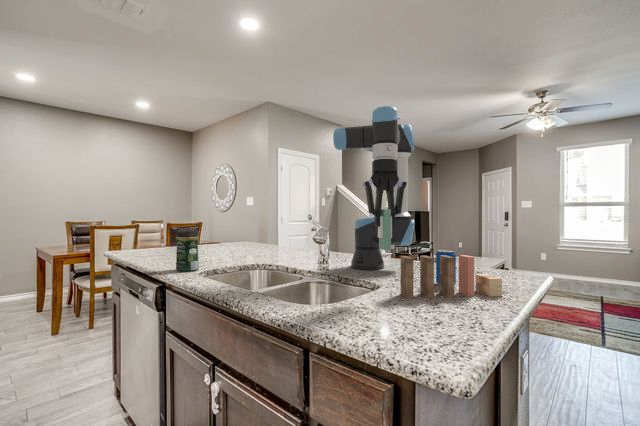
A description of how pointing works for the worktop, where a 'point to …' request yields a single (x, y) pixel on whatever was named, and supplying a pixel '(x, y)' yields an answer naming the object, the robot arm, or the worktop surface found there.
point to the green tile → (386, 230)
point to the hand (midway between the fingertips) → (384, 237)
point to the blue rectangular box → (440, 252)
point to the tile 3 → (427, 276)
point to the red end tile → (466, 275)
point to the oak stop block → (489, 285)
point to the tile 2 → (407, 277)
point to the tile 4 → (447, 275)
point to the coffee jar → (187, 249)
